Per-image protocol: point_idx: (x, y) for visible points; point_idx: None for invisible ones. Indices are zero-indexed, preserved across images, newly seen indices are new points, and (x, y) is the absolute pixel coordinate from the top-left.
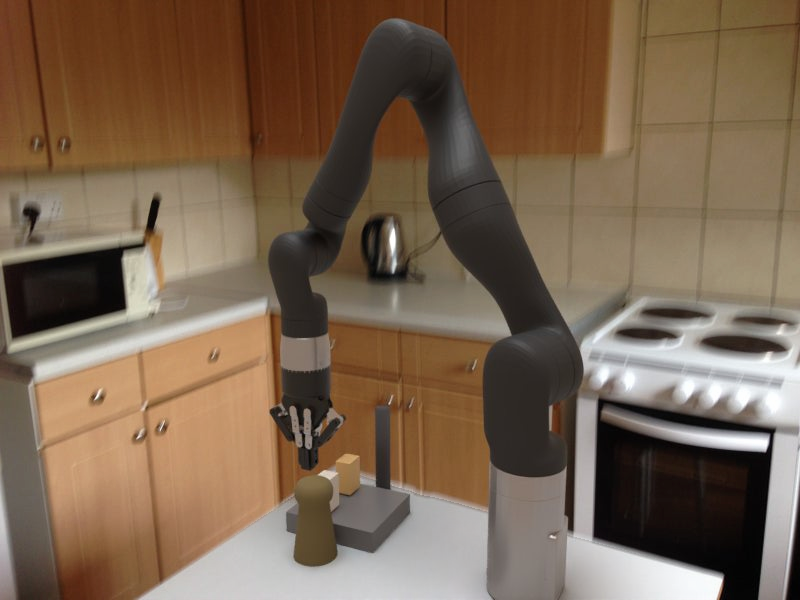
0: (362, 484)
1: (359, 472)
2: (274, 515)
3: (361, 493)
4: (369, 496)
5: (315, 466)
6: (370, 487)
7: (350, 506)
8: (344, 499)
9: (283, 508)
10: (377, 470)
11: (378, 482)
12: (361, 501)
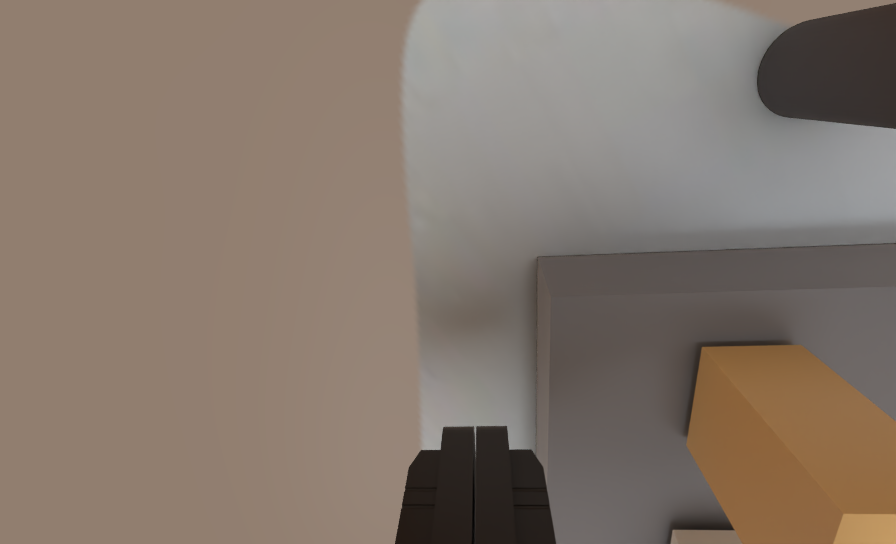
0: (794, 295)
1: (871, 407)
2: None
3: None
4: (881, 397)
5: (505, 426)
6: (859, 307)
7: None
8: None
9: (423, 431)
10: (892, 126)
11: (831, 121)
12: None
